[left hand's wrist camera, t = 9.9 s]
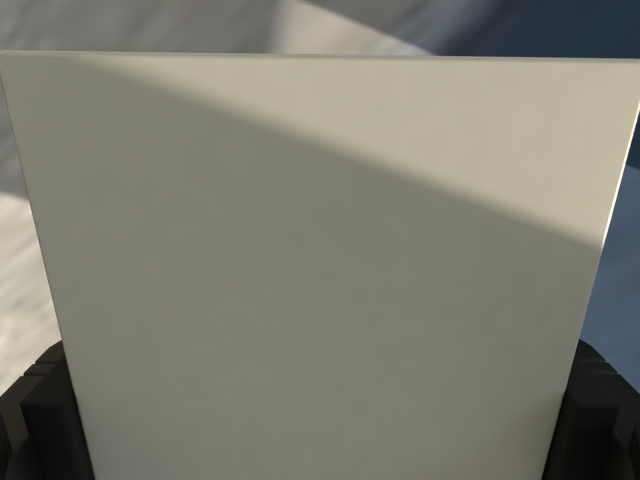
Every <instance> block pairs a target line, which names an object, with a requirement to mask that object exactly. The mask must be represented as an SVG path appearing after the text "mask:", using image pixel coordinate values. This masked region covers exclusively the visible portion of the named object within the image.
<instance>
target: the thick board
mask: <svg viewBox="0 0 640 480" xmlns="http://www.w3.org/2000/svg"><path fill="white" fill-rule="evenodd" d="M0 79H1V83H2V87H3V91H4V96H5V100H6V104H7V108H8V113H9V117H10V121H11V125H12V130H13V134H14V138H15V142H16V147H17V151H18V155H19V159H20V164H21V168H22V172H23V176H24V181H25V185H26V189H27V193H28V198H29V202H30V206H31V210H32V215H33V219H34V223H35V227H36V232H37V236H38V240H39V244H40V249H41V253H42V257H43V261H44V266H45V270H46V274H47V279H48V283H49V287H50V291H51V296H52V300H53V304H54V308H55V313H56V317H57V321H58V325H59V330H60V334H61V338H62V342H63V347H64V351H65V355H66V359H67V364H68V368H69V372H70V376H71V381H72V385H73V389H74V393H75V398H76V402H77V406H78V410H79V415H80V419H81V423H82V427H83V432H84V436H85V440H86V444H87V449H88V453H89V457H90V461H91V466H92V470H93V474H94V478H95V480H541V479H542V476H543V472H544V468H545V464H546V461H547V457H548V453H549V449H550V446H551V442H552V438H553V434H554V430H555V427H556V423H557V419H558V415H559V412H560V408H561V404H562V400H563V397H564V393H565V389H566V385H567V382H568V378H569V374H570V370H571V366H572V363H573V359H574V355H575V351H576V348H577V344H578V340H579V336H580V333H581V329H582V325H583V321H584V318H585V314H586V310H587V306H588V302H589V299H590V295H591V291H592V287H593V284H594V280H595V276H596V272H597V269H598V265H599V261H600V257H601V254H602V250H603V246H604V242H605V238H606V235H607V231H608V227H609V223H610V220H611V216H612V212H613V208H614V205H615V201H616V197H617V193H618V190H619V186H620V182H621V178H622V174H623V171H624V167H625V163H626V159H627V156H628V152H629V148H630V144H631V141H632V137H633V133H634V129H635V126H636V122H637V118H638V114H639V110H640V59H613V58H542V57H471V56H400V55H329V54H258V53H187V52H116V51H45V50H0Z"/></svg>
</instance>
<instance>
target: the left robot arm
mask: <svg viewBox="0 0 640 480" xmlns="http://www.w3.org/2000/svg"><path fill="white" fill-rule="evenodd" d="M0 480H95V478H94V474H93V470H92V466H91V461H90V457H89V453H88V449H87V444H86V440H85V436H84V432H83V427H82V423H81V419H80V415H79V410H78V406H77V402H76V398H75V393H74V389H73V385H72V381H71V376H70V372H69V368H68V364H67V359H66V355H65V351H64V347H63V342H62V340H61V341H59V342H58V343H56V344H54V345H53V346H51V347H49V348H48V349H47V350H46V351H45V352H44V353H43V354H42V355H41V356H40V357H39V358H38V359H37V360H36V361H35V364H32V365H31V366H30V367H29V368H28V369H27V370H26V371H25V372H24V375H23V376H20V377H19V378H18V379H17V380H16V381H15V382H14V383H13V384H12V385H11V386H10V387H9V388H8V389H7V390H6V392H5V393H4V394H3V395H2V396H1V397H0ZM541 480H640V394H639V393H638V392H637V391H636V390H635V389H634V388H633V387H632V386H631V385H630V384H629V383H628V382H627V381H626V380H625V379H624V378H623V377H622V376H621V375H618V374H617V371H616V370H615V369H614V368H613V367H612V366H611V365H610V364H609V363H606V362H605V359H604V358H603V357H602V356H601V355H600V354H599V353H598V352H597V351H596V350H595V349H594V348H593V347H592V346H590V345H589V344H587V343H585V342H584V341H582V340H580V339H579V340H578V344H577V348H576V351H575V355H574V359H573V363H572V366H571V370H570V374H569V378H568V382H567V385H566V389H565V393H564V397H563V400H562V404H561V408H560V412H559V415H558V419H557V423H556V427H555V430H554V434H553V438H552V442H551V446H550V449H549V453H548V457H547V461H546V464H545V468H544V472H543V476H542V479H541Z"/></svg>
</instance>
